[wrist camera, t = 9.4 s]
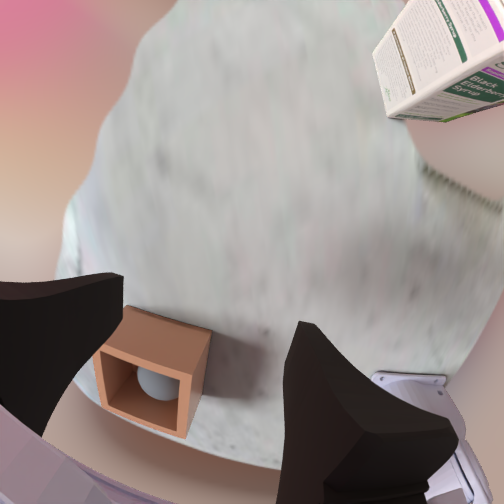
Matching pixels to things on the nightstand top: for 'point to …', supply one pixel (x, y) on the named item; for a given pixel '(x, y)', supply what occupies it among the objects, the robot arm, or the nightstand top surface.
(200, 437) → the nightstand top surface
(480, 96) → the syrup box
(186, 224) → the nightstand top surface
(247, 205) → the nightstand top surface
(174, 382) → the ball
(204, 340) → the open square bin
